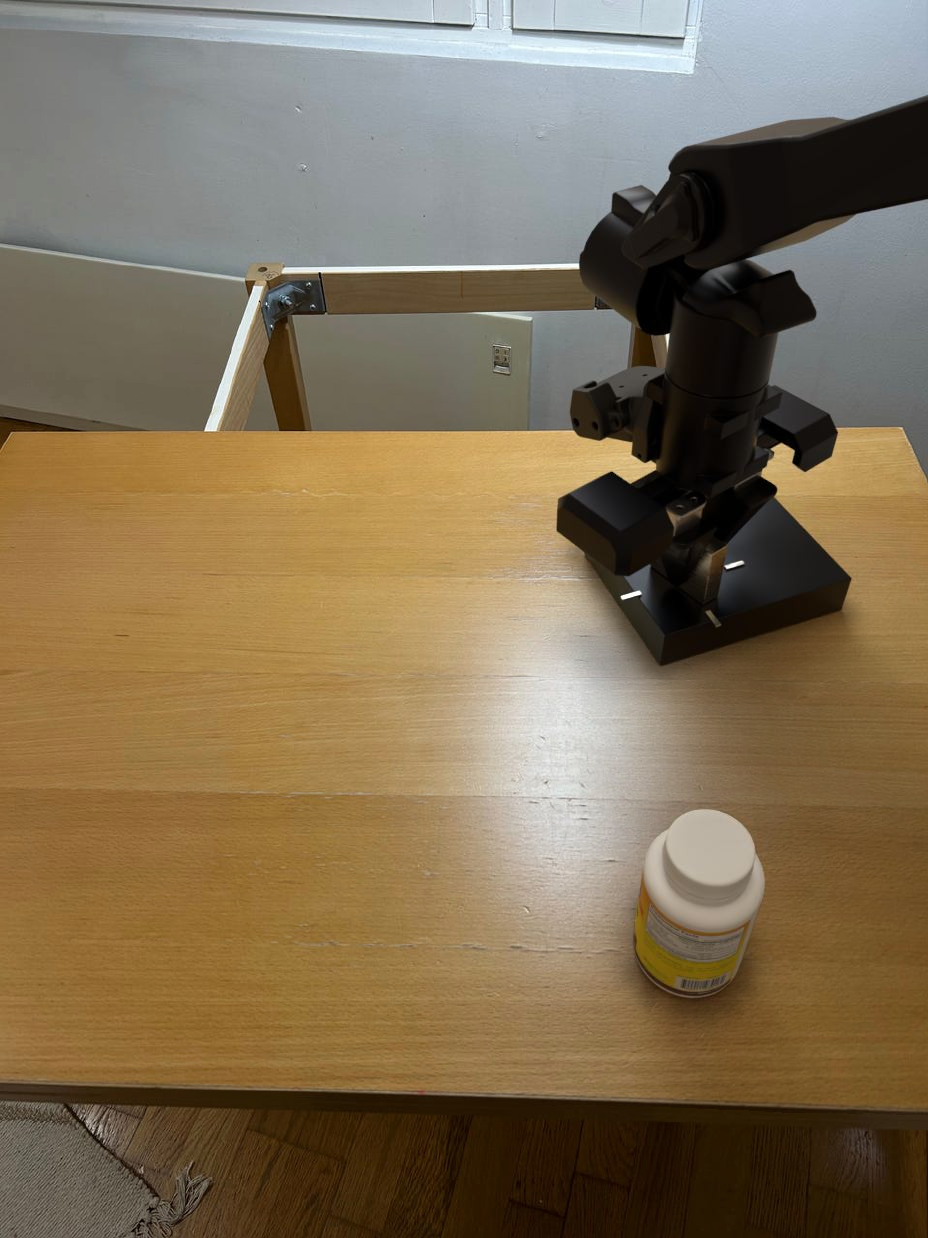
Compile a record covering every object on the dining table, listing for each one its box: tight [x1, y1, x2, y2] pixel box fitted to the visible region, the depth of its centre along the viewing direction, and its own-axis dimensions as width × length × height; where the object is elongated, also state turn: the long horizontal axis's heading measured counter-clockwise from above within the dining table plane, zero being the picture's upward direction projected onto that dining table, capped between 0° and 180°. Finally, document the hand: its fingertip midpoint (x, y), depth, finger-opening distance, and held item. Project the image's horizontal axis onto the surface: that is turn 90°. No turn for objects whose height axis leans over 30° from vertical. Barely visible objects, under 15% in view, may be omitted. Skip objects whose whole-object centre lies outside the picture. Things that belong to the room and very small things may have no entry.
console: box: [583, 496, 853, 667], centre depth 69 cm, size 13×15×3 cm
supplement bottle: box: [632, 808, 766, 999], centre depth 48 cm, size 6×6×10 cm
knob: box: [650, 536, 728, 605], centre depth 65 cm, size 5×1×5 cm, turn 36°
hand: (684, 575), depth 66 cm, fingers closed on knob
